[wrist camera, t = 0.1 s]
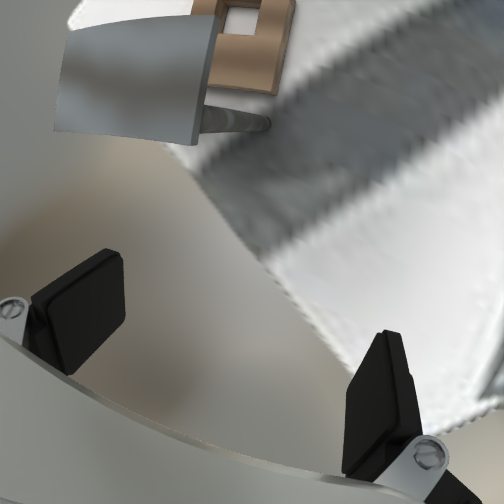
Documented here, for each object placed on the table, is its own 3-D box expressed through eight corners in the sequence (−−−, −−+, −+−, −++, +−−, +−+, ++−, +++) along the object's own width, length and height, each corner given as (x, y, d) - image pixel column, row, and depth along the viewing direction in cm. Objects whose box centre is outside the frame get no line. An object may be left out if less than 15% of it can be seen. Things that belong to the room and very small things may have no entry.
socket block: (209, -4, 31) (108, -79, 10) (295, 1, 29) (252, -108, 8) (183, 122, 39) (53, 131, 18) (268, 136, 37) (190, 145, 16)
